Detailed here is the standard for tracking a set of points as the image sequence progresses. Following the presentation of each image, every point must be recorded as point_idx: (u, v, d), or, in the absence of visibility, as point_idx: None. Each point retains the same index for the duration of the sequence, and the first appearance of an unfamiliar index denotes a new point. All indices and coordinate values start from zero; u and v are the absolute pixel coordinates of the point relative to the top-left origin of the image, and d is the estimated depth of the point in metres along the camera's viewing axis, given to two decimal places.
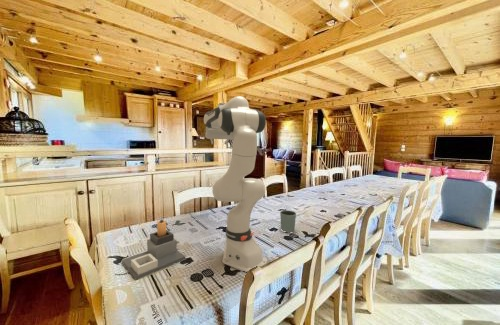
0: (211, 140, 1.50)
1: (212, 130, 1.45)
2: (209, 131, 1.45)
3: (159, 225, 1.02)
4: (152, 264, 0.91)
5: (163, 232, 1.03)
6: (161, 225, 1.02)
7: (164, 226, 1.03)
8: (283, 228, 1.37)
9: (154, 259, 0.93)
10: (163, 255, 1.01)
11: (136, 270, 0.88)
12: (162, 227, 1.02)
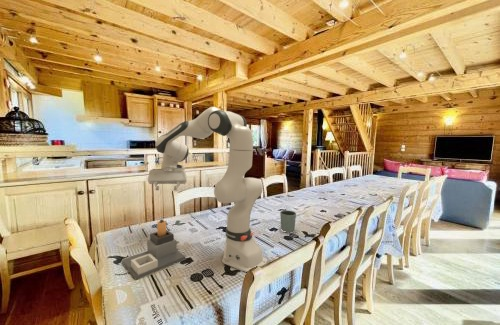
0: (155, 183, 1.16)
1: (157, 171, 1.20)
2: (153, 172, 1.19)
3: (159, 225, 1.02)
4: (152, 264, 0.91)
5: (163, 232, 1.03)
6: (161, 225, 1.02)
7: (164, 226, 1.03)
8: (283, 228, 1.37)
9: (154, 259, 0.93)
10: (163, 255, 1.01)
11: (136, 270, 0.88)
12: (162, 227, 1.02)
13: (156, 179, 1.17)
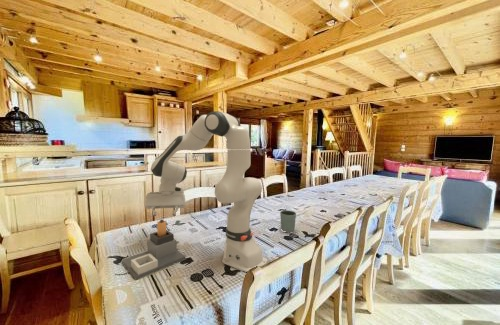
0: (152, 209, 1.10)
1: (154, 194, 1.14)
2: (150, 196, 1.13)
3: (159, 225, 1.02)
4: (152, 264, 0.91)
5: (163, 232, 1.03)
6: (161, 225, 1.02)
7: (164, 226, 1.03)
8: (283, 228, 1.37)
9: (154, 259, 0.93)
10: (163, 255, 1.01)
11: (136, 270, 0.88)
12: (162, 227, 1.02)
13: (153, 204, 1.11)
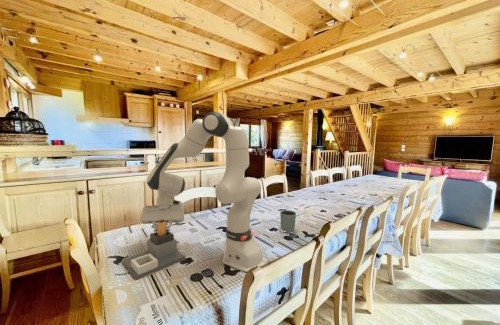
0: (153, 224, 1.04)
1: (151, 208, 1.08)
2: (146, 210, 1.07)
3: (159, 225, 1.02)
4: (152, 264, 0.91)
5: (163, 232, 1.03)
6: (161, 225, 1.02)
7: (164, 226, 1.03)
8: (283, 228, 1.37)
9: (154, 259, 0.93)
10: (163, 255, 1.01)
11: (136, 270, 0.88)
12: (162, 227, 1.02)
13: (150, 219, 1.04)
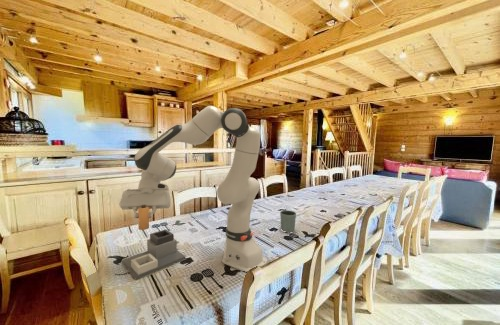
0: (134, 209, 0.90)
1: (132, 192, 0.94)
2: (127, 194, 0.93)
3: (140, 210, 0.88)
4: (152, 264, 0.91)
5: (145, 218, 0.89)
6: (142, 210, 0.88)
7: (146, 212, 0.89)
8: (283, 228, 1.37)
9: (154, 259, 0.93)
10: (163, 255, 1.01)
11: (136, 270, 0.88)
12: (144, 213, 0.89)
13: (130, 204, 0.91)
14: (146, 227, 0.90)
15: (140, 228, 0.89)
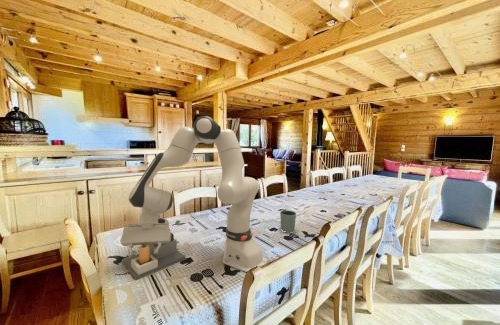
0: (129, 247, 0.91)
1: (133, 228, 0.96)
2: (127, 230, 0.95)
3: (141, 250, 0.90)
4: (152, 264, 0.91)
5: (146, 258, 0.91)
6: (143, 250, 0.90)
7: (147, 251, 0.91)
8: (283, 228, 1.37)
9: (154, 259, 0.93)
10: (163, 255, 1.01)
11: (136, 270, 0.88)
12: (144, 253, 0.90)
13: (131, 241, 0.92)
14: None
15: None
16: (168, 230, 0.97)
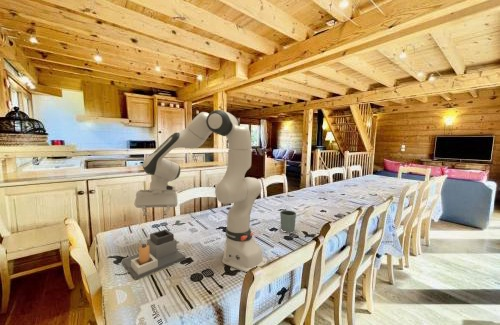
0: (142, 208, 1.06)
1: (144, 193, 1.09)
2: (140, 194, 1.08)
3: (141, 251, 0.90)
4: (152, 264, 0.91)
5: (146, 258, 0.91)
6: (143, 251, 0.90)
7: (147, 251, 0.91)
8: (283, 228, 1.37)
9: (154, 259, 0.93)
10: (163, 255, 1.01)
11: (136, 270, 0.88)
12: (144, 253, 0.90)
13: (144, 203, 1.06)
14: None
15: None
16: (175, 196, 1.11)
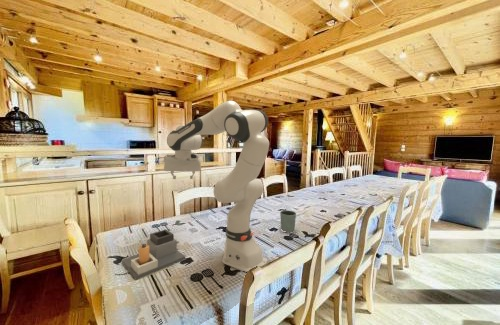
0: (172, 173, 1.21)
1: (171, 159, 1.19)
2: (168, 161, 1.19)
3: (141, 251, 0.90)
4: (152, 264, 0.91)
5: (146, 258, 0.91)
6: (143, 251, 0.90)
7: (147, 251, 0.91)
8: (283, 228, 1.37)
9: (154, 259, 0.93)
10: (163, 255, 1.01)
11: (136, 270, 0.88)
12: (144, 253, 0.90)
13: (172, 169, 1.20)
14: None
15: None
16: (199, 163, 1.22)
